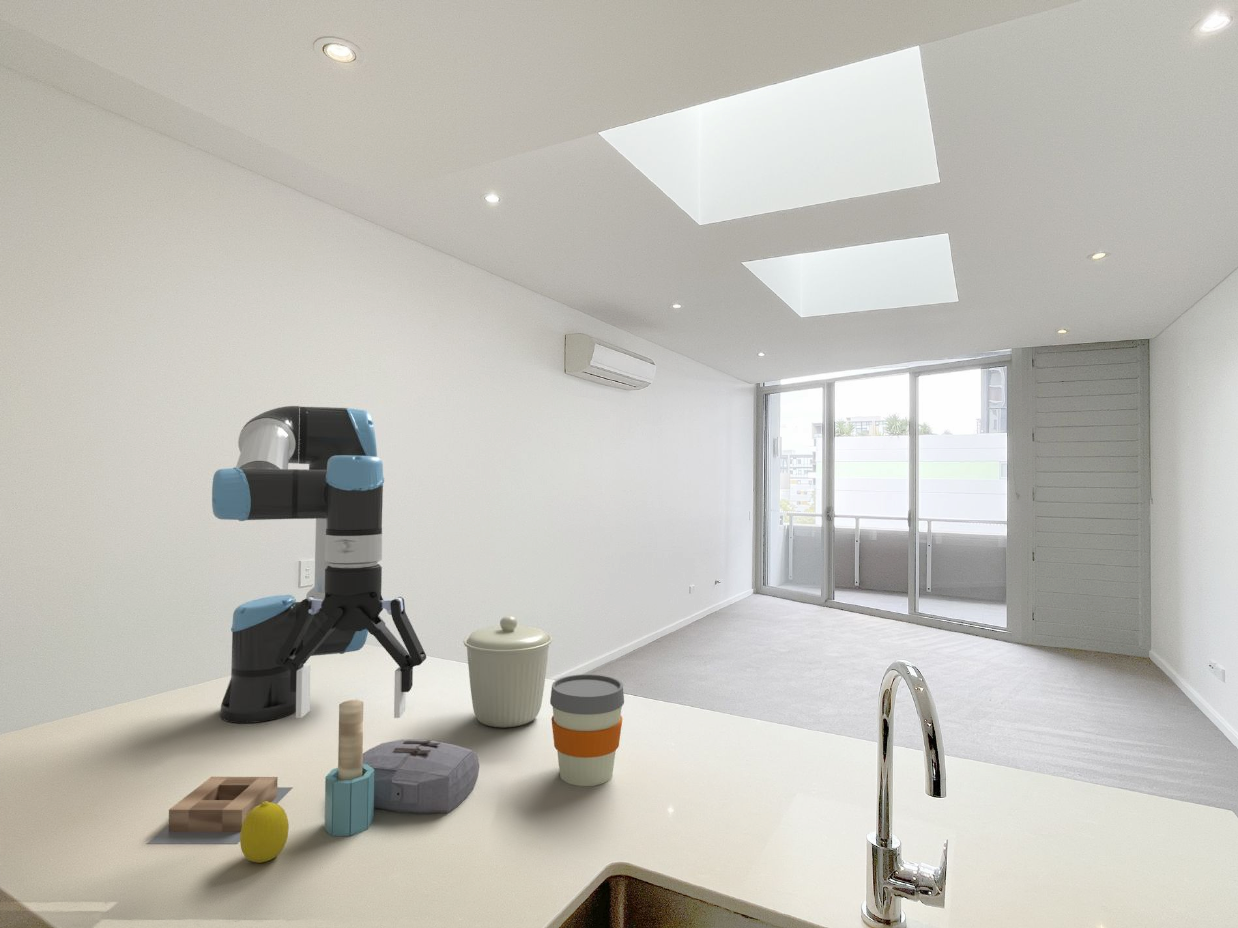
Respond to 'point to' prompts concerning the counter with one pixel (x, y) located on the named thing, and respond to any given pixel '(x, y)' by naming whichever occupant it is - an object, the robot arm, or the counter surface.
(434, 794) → the grey rounded bag
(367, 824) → the cup
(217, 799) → the frame
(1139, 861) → the counter surface
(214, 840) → the tray
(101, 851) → the counter surface
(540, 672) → the canister
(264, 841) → the lemon
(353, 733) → the dowel
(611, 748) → the reusable coffee cup
